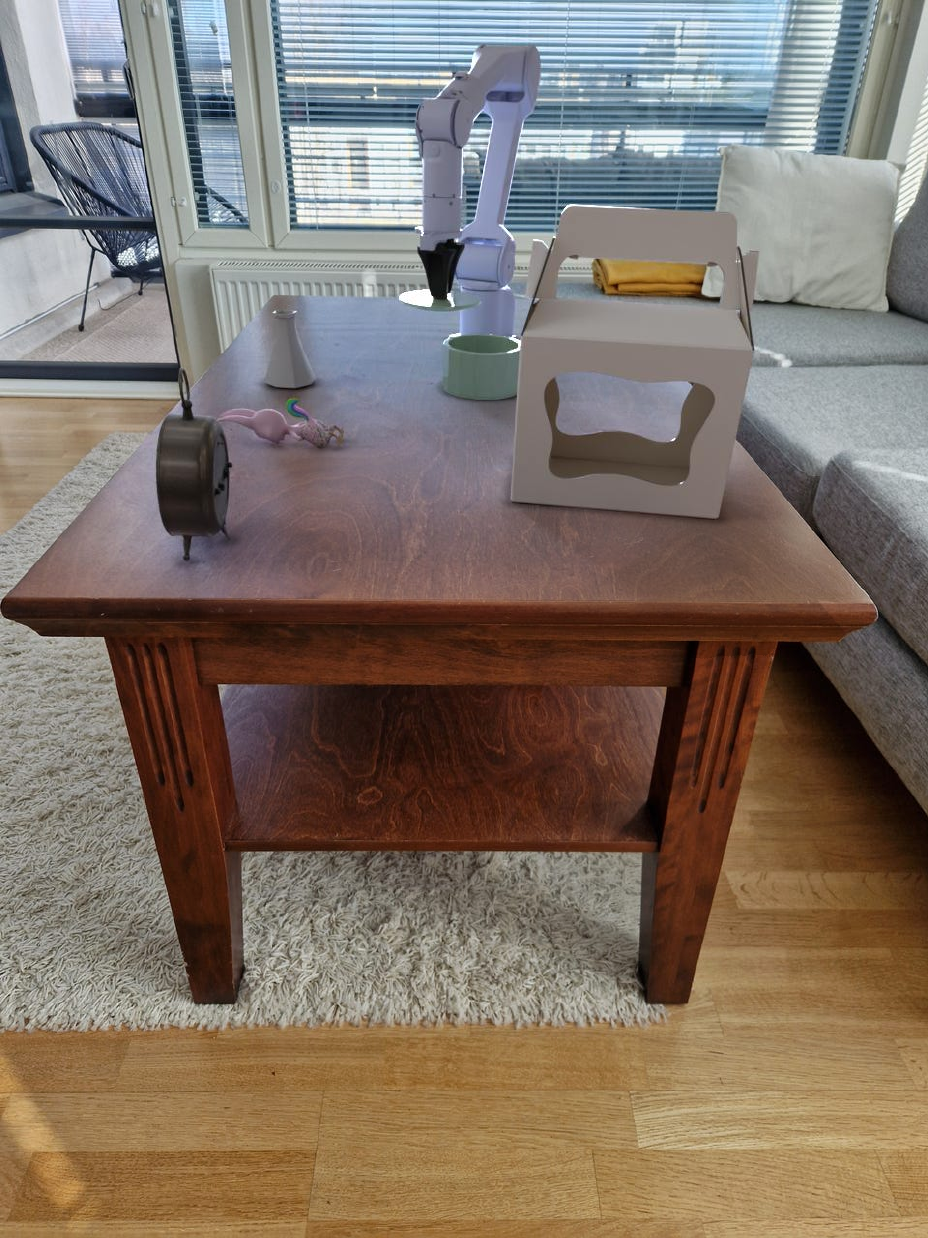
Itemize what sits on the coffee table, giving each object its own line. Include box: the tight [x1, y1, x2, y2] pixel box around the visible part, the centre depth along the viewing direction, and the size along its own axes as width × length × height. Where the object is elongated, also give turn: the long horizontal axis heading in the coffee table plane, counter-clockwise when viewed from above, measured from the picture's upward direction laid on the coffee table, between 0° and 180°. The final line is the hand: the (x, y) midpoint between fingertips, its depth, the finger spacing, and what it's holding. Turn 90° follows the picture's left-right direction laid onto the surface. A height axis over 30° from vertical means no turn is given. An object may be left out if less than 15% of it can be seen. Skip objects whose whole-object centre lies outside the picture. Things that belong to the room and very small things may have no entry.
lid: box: [398, 284, 481, 313], centre depth 126 cm, size 13×13×4 cm
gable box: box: [510, 204, 760, 520], centre depth 85 cm, size 22×13×28 cm, turn 82°
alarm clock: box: [155, 367, 233, 562], centre depth 74 cm, size 11×5×16 cm, turn 5°
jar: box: [442, 334, 520, 401], centre depth 120 cm, size 12×12×6 cm
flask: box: [263, 308, 317, 389], centre depth 119 cm, size 7×7×10 cm
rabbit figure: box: [216, 397, 345, 449], centre depth 99 cm, size 6×6×15 cm
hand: (440, 294), depth 127 cm, fingers closed on lid, 2 cm apart
